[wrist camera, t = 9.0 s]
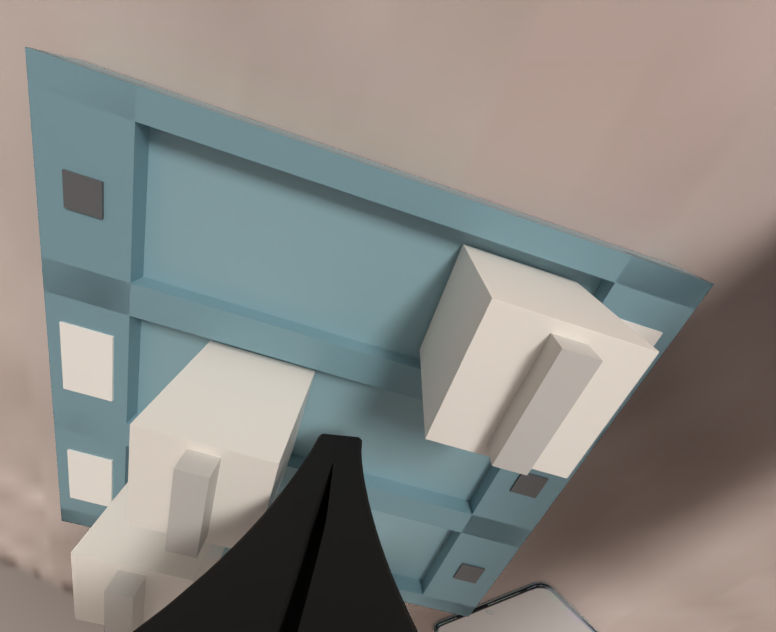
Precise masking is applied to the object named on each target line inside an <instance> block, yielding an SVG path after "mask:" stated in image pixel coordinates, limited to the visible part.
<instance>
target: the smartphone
mask: <svg viewBox="0 0 776 632" xmlns="http://www.w3.org/2000/svg"><path fill="white" fill-rule="evenodd" d="M434 631H435V632H597V631H596V630H595V629H594V628H593V627H592V626H591V625H590V624H589V623H588V621H587V620H586V619H585V618H584V617H583V616H581V615H580V613H579V612H578V611H577V610H575V609H574V608H573V607H572V606H571V605H570V604H569V603H568V602H567V601H566V600H565V599H564V598H563V597H562V596H561V595H560V594H559V593H557V592H556V591H555V590H554V589H553V588H552V587H551V586H550V585H549V584H547V583H543V582H536V583H532V584H529V585H527V586H524V587H522V588H519V589H517V590H514V591H512V592H509V593H507V594H504V595H502V596H499V597H497V598H494V599H492V600H489V601H487V602H484V603H482V604H479V605H477V606H476V608H475V609H474V610H473V612H472V613H471V614H470V616H469V617H466V616H462V615H458V614H454V615H452V616H449V617H447V618H444V619H442V620H439V621H437V622H436V623H435V625H434Z"/></svg>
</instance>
